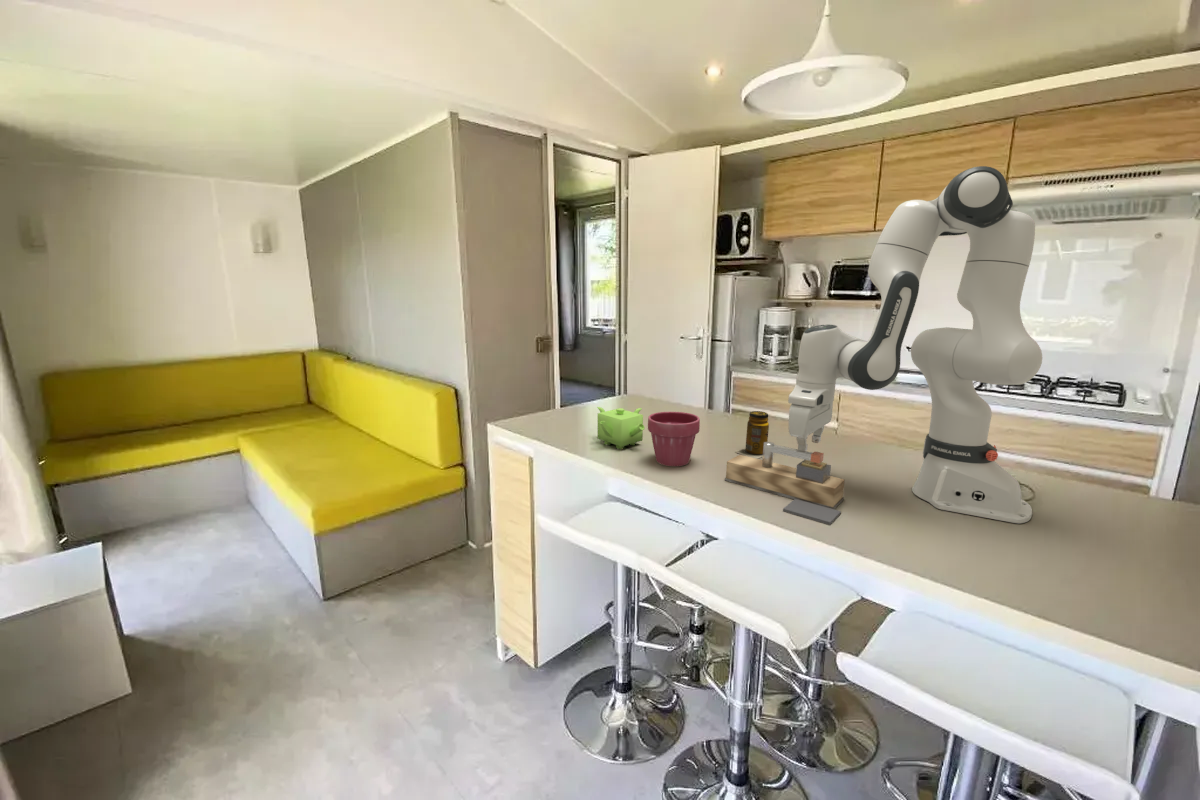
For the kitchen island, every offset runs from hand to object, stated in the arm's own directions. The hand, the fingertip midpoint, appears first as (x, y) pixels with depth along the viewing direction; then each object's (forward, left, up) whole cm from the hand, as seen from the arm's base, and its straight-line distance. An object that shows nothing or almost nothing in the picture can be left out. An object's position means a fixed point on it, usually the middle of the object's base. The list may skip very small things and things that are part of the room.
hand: (809, 446), depth 129 cm
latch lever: (+1, +9, -4) cm, 10 cm away
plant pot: (+34, +10, -9) cm, 36 cm away
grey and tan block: (-4, +9, -4) cm, 11 cm away
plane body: (+3, +9, -9) cm, 13 cm away
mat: (-7, +17, -9) cm, 21 cm away
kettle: (+55, +7, -9) cm, 56 cm away
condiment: (+20, -12, -9) cm, 25 cm away
